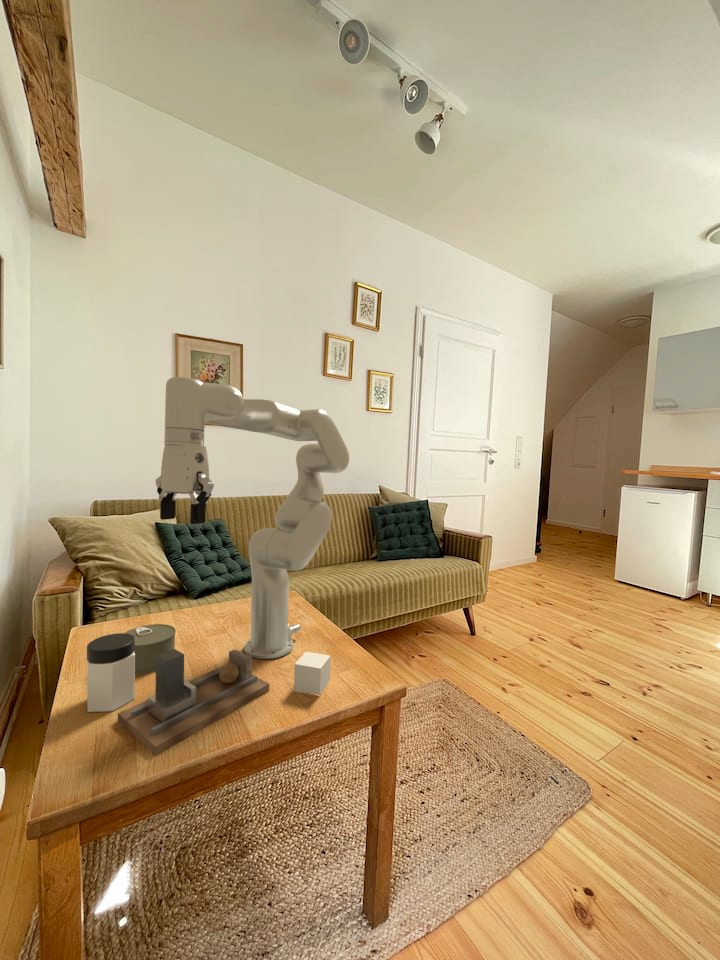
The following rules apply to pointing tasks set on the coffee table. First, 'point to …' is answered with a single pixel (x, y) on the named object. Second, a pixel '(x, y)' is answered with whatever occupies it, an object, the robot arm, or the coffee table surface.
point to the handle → (171, 687)
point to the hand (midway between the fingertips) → (182, 521)
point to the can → (151, 645)
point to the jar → (110, 672)
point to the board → (198, 704)
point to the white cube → (312, 673)
